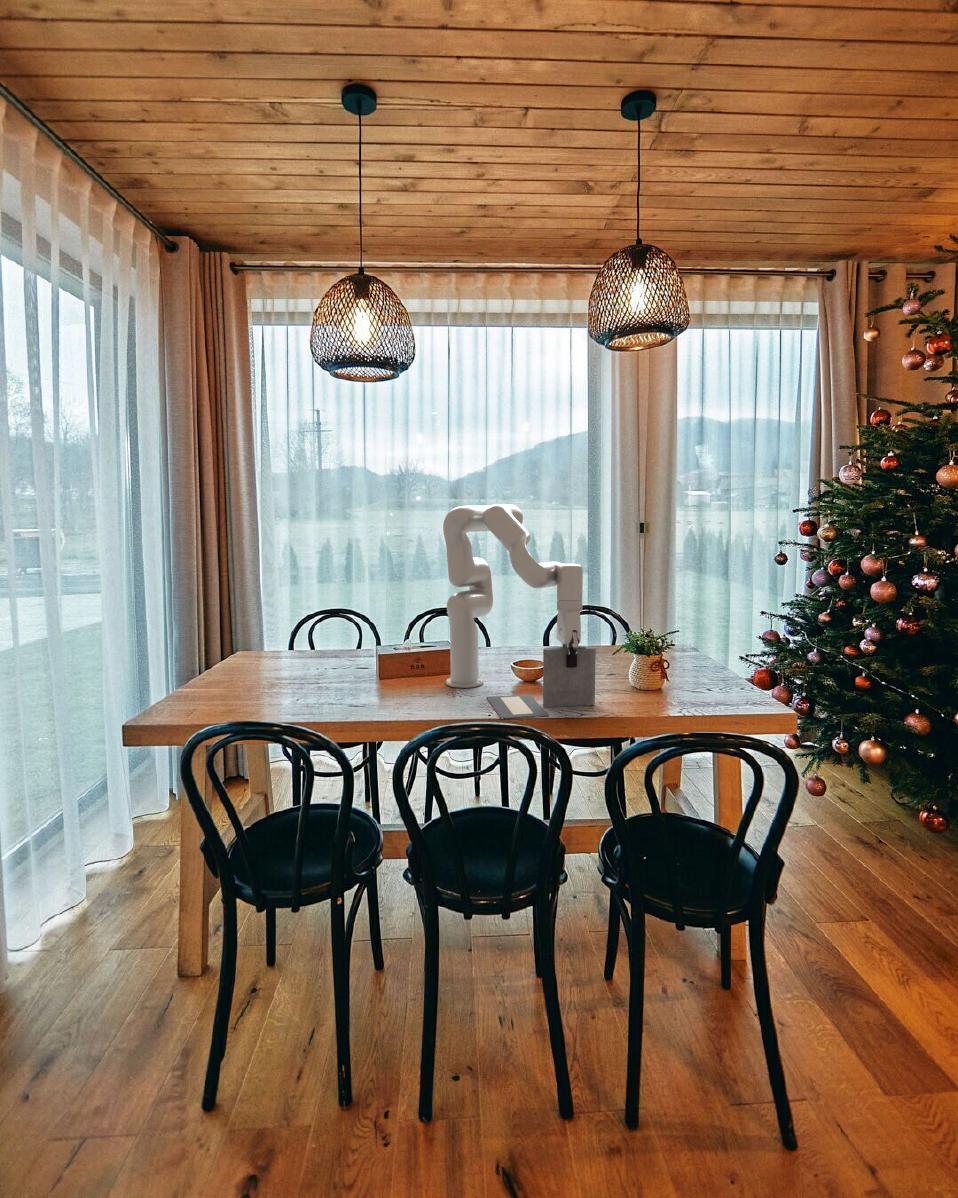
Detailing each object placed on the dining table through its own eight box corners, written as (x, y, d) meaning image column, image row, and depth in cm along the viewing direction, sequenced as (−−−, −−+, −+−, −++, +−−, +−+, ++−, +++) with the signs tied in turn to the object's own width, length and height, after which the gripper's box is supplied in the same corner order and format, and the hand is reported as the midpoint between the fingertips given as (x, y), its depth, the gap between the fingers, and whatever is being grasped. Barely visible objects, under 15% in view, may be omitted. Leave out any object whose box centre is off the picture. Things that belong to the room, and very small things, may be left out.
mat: (486, 698, 217) (486, 696, 217) (529, 695, 219) (529, 694, 219) (501, 719, 195) (501, 717, 195) (548, 716, 198) (548, 714, 198)
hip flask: (544, 707, 206) (544, 641, 204) (541, 703, 210) (541, 639, 208) (596, 705, 208) (597, 640, 205) (592, 701, 212) (593, 637, 209)
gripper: (549, 601, 212) (549, 660, 215) (565, 609, 196) (565, 672, 199) (573, 601, 214) (572, 659, 216) (591, 608, 197) (590, 671, 200)
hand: (569, 664), depth 207 cm, fingers closed on hip flask, 4 cm apart
